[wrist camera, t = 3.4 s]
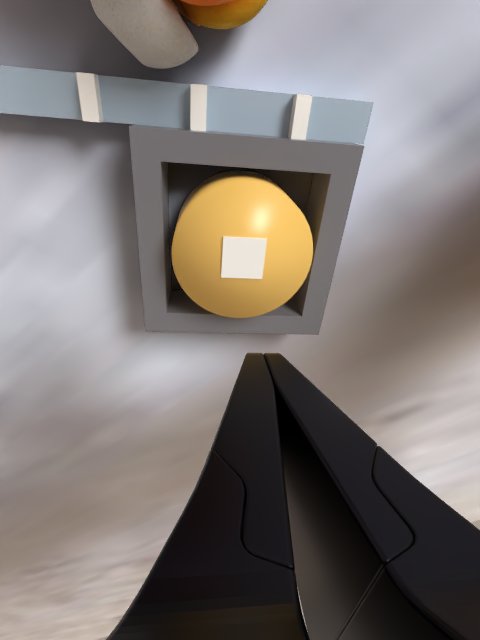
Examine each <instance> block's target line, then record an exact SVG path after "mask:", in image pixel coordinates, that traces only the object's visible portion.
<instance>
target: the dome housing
mask: <svg viewBox="0 0 480 640" xmlns="http://www.w3.org/2000/svg"><path fill="white" fill-rule="evenodd" d="M129 137H130V149H131V162H132V174H133V187H134V199H135V212H136V224H137V237H138V249H139V262H140V275H141V287H142V300H143V312H144V325H145V331H152V332H206V333H259V334H312V335H319V331H320V326H321V322H322V318H323V314H324V310H325V306H326V302H327V298H328V293H329V289H330V285H331V281H332V277H333V273H334V269H335V265H336V260H337V256H338V252H339V248H340V244H341V240H342V236H343V232H344V227H345V223H346V219H347V215H348V211H349V207H350V203H351V199H352V194H353V190H354V186H355V182H356V178H357V174H358V170H359V166H360V161H361V157H362V153H363V149H364V146H362V145H358V144H354V143H347V142H335V141H324V140H312V139H306V140H300V139H291V138H288V137H277V136H265V135H253V134H241V133H230V132H218V131H194V130H190V129H183V128H171V127H159V126H147V125H136V124H135V125H131V126H129ZM167 162H175V163H188V164H202V165H215V166H229V167H242V168H256V169H269V170H283V171H297V172H310V173H313V177H312V183H311V188H310V194H309V200H308V205H307V211H306V216H305V218H306V220H307V222H308V225H309V227H310V231H311V234H312V240H313V256H312V262H311V266H310V269H309V272H308V274H307V277H306V279H305V280H304V282H303V284H302V285H301V287H300V288H299V289H298V291H297V292H296V293H295V294H294V295H293V296H292V297H291V298H290V299H289V300H288V301H287V302H285V303H284V304H283V305H281V306H280V307H278V308H276V309H274V310H272V311H270V312H268V313H265V314H262V315H259V316H255V317H248V318H231V317H225V316H221V315H218V314H214V313H212V312H210V311H208V310H206V309H204V308H202V307H201V306H199V305H198V304H197V303H195V302H194V301H193V300H192V299H191V298H190V297H189V296H188V295H187V294H186V293H185V291H184V290H171V273H170V239H169V205H168V171H167Z"/></svg>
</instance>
